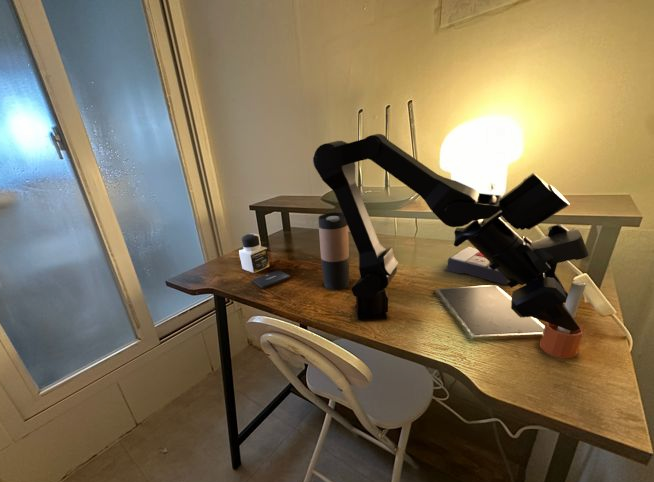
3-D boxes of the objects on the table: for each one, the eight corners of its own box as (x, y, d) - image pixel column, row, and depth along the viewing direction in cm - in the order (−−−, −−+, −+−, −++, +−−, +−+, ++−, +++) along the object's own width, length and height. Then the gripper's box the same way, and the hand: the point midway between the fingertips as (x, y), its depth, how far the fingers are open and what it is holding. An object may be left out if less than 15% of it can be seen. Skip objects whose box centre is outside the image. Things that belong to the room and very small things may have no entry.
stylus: (555, 351, 52) (577, 285, 47) (549, 346, 54) (569, 281, 48) (566, 351, 52) (588, 284, 47) (559, 345, 54) (580, 280, 48)
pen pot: (551, 360, 51) (559, 336, 49) (532, 342, 56) (539, 319, 54) (583, 359, 51) (592, 335, 49) (562, 341, 55) (569, 318, 53)
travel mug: (333, 276, 92) (329, 211, 83) (355, 282, 87) (353, 213, 78) (317, 286, 87) (311, 218, 79) (339, 293, 82) (336, 221, 74)
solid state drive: (252, 281, 96) (252, 279, 96) (278, 271, 100) (278, 269, 100) (262, 288, 91) (262, 286, 90) (290, 277, 95) (290, 275, 94)
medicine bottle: (254, 273, 102) (247, 240, 97) (242, 269, 107) (235, 237, 102) (270, 266, 106) (264, 233, 101) (257, 262, 111) (252, 230, 106)
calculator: (511, 272, 72) (448, 256, 84) (506, 287, 74) (445, 270, 86) (528, 258, 78) (467, 244, 89) (524, 272, 80) (464, 257, 91)
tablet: (471, 341, 58) (471, 336, 58) (434, 292, 76) (435, 288, 76) (552, 338, 56) (554, 333, 56) (495, 288, 74) (496, 284, 73)
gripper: (561, 233, 39) (657, 322, 38) (548, 199, 52) (619, 264, 51) (480, 279, 47) (557, 355, 45) (487, 240, 60) (546, 297, 59)
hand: (571, 314), depth 50 cm, fingers open, 9 cm apart
